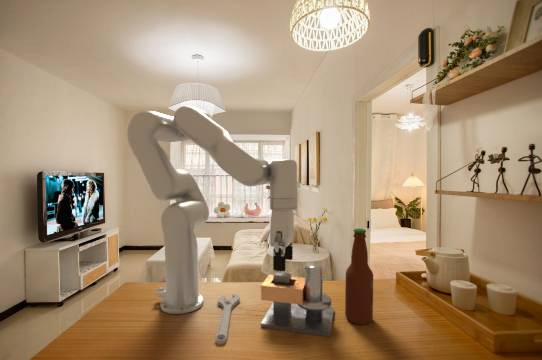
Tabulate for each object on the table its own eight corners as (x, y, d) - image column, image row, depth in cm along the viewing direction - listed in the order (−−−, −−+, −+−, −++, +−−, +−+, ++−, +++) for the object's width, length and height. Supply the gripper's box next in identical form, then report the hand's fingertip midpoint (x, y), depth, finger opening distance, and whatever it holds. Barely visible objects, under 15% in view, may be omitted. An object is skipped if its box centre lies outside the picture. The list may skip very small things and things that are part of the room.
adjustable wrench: (226, 346, 71) (226, 339, 71) (199, 346, 71) (199, 338, 71) (240, 299, 96) (240, 293, 96) (221, 298, 96) (220, 293, 96)
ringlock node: (258, 326, 78) (257, 270, 78) (271, 303, 92) (271, 255, 91) (330, 337, 74) (330, 277, 73) (333, 310, 87) (334, 260, 86)
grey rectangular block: (273, 314, 83) (273, 275, 83) (275, 310, 85) (275, 272, 85) (289, 316, 82) (289, 276, 81) (291, 312, 84) (291, 273, 84)
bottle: (378, 321, 81) (379, 230, 80) (359, 328, 77) (360, 233, 76) (358, 310, 87) (359, 225, 86) (339, 316, 84) (340, 228, 83)
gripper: (277, 200, 92) (277, 254, 92) (261, 207, 75) (261, 274, 76) (301, 200, 90) (301, 256, 90) (290, 208, 73) (290, 277, 74)
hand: (283, 264), depth 83 cm, fingers open, 9 cm apart
